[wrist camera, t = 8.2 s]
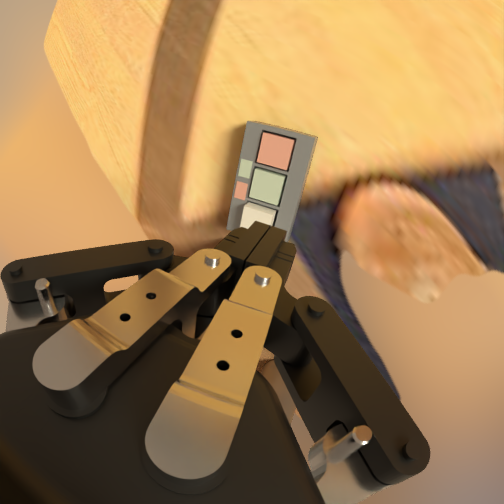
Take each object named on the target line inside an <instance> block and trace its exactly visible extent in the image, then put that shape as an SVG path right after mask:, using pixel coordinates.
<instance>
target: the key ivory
mask: <svg viewBox="0 0 504 504" xmlns="http://www.w3.org/2000/svg"><path fill="white" fill-rule="evenodd" d="M275 214H276V210H273V209H270V208H267V207H264V206H260V205H257V204H254V203H251V202H248V203H247V204H246V205H245V206H244V209H243V214H242V219H241V224H240V227H244V228H247V229H248V228H249V227H250V226H251V225H252V224H253V223H254V222H255V221H259V222H262V223H265V224H268V225H271V226H273V222H274V218H275Z"/></svg>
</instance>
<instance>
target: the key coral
mask: <svg viewBox="0 0 504 504" xmlns="http://www.w3.org/2000/svg"><path fill="white" fill-rule="evenodd" d="M295 143H296V139H292V138H289V137H285V136H281V135H277V134H273V133H269V132H264V133H263V136H262V140H261V145H260V149H259V154H258V159H257V162H259V163H262V164H266V165H270V166H273V167H277V168H280V169H284V170H287V169H289V167H290V163H291V159H292V155H293V151H294V147H295Z"/></svg>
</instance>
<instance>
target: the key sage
mask: <svg viewBox="0 0 504 504" xmlns="http://www.w3.org/2000/svg"><path fill="white" fill-rule="evenodd" d="M286 178H287V175H285V174H282V173H278V172H275V171H272V170H268V169H264V168H261V167H258V168H256V169H255V171H254V176H253V180H252V185H251V190H250V195H249V197H251V198H254V199H258V200H261V201H264V202H267V203H271V204H274V205H278V204H279V203H280V201H281V198H282V194H283V190H284V186H285V182H286Z"/></svg>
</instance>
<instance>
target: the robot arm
mask: <svg viewBox="0 0 504 504" xmlns="http://www.w3.org/2000/svg"><path fill="white" fill-rule="evenodd" d="M286 234H287V231H286V230H283V229H280V228H277V227H274V226H271V225H268V224H265V223H262V222H259V221H255V222H254V223H253V224H252V225H251V226H250V227H249V228H248V229H247V228H244V227H239V228H236V229H233V230H232V231H231V232H230V233H229V234H228V235H227V236H226V237H225V238H224V239H223V240H222V241H221V242H220V243H219V244H218V245H217V246H216V247H215V248H214V249H202V250H199V251H197V252H196V253H195V254H193V255H192V256H191V257H189V258H186V257H180V256H174V255H173V254H174V248H173V246H172V245H171V244H170V243H168V242H166V241H163V240H145V241H138V242H131V243H124V244H116V245H109V246H102V247H95V248H89V249H82V250H75V251H69V252H63V253H56V254H50V255H44V256H38V257H32V258H26V259H20V260H15V261H13V262H11V263H9V264H8V265H6V266H5V267H4V268H3V270H2V272H1V279H2V282H3V285H4V288H5V291H6V293H7V298H8V301H9V306H8V314H7V324H6V332H4V333H2V334H0V504H358V503H360V502H361V501H363V500H365V499H366V498H368V497H369V496H371V495H373V494H374V493H377V492H379V491H382V490H384V489H386V488H389V487H391V486H393V485H395V484H397V483H400V482H402V481H404V480H406V479H408V478H410V477H412V476H414V475H416V474H418V473H420V472H421V471H423V470H424V469H425V468H426V466H427V464H428V462H429V459H430V448H429V445H428V442H427V440H426V439H425V438H424V436H423V434H422V433H421V431H420V430H419V428H418V427H417V426H416V424H415V423H414V421H413V419H412V418H411V416H410V415H409V413H408V412H407V411H406V409H405V408H404V406H403V405H402V403H401V402H400V400H399V399H398V398H397V396H396V395H395V393H394V392H393V390H392V389H391V388H390V386H389V385H388V383H387V382H386V380H385V379H384V378H383V376H382V375H381V373H380V372H379V371H378V369H377V368H376V366H375V365H374V364H373V362H372V361H371V359H370V358H369V357H368V355H367V354H366V352H365V351H364V350H363V348H362V347H361V346H360V344H359V343H358V341H357V340H356V339H355V337H354V336H353V335H352V333H351V332H350V331H349V329H348V328H347V327H346V325H345V324H344V323H343V321H342V320H341V318H340V317H339V316H338V314H337V313H336V312H335V310H334V309H333V308H332V307H331V305H330V304H328V303H327V302H326V301H324V300H322V299H320V298H317V297H313V296H305V297H301V298H299V299H298V300H297V299H296V298H294V297H293V296H291V295H290V294H289V293H288V292H287V291H286V289H285V287H284V286H285V283H286V281H287V279H288V276H289V273H290V270H291V267H292V264H293V261H294V258H295V254H296V248H295V245H294V244H291V243H289V242H286V241H285V238H286ZM135 275H138V278H139V281H137V282H136V283H135V284H133V285H132V286H130V287H129V288H128V289H126V290H121V291H115V292H105V291H104V288H103V287H104V284H105V283H106V282H107V281H109V280H111V279H117V278H123V277H129V276H135ZM263 347H264V348H266V349H267V350H269V351H270V352H272V353H273V354H274V360H272V361H269V362H267V363H266V364H265V365H264V367H263V369H262V371H261V373H259V372H258V371H257V370H256V367H257V364H258V361H259V358H260V355H261V352H262V349H263ZM296 408H297V410H298V412H299V414H300V415H301V417H302V419H303V421H304V423H305V425H306V427H307V429H308V431H309V433H310V435H311V437H312V439H313V441H314V445H313V446H312V447H311V448H310V451H309V454H308V461H309V464H310V467H311V471H310V469H309V466H308V464H307V462H306V460H305V458H304V456H303V453H302V451H301V449H300V446H299V444H298V442H297V440H296V437H295V435H294V433H293V430H292V428H291V426H290V425H291V422H292V418H293V415H294V412H295V409H296Z"/></svg>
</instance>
